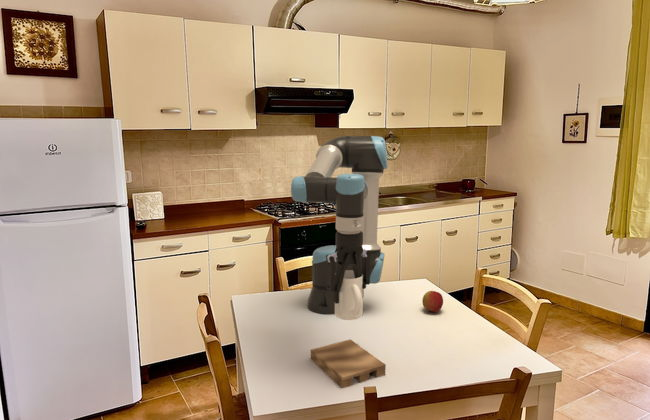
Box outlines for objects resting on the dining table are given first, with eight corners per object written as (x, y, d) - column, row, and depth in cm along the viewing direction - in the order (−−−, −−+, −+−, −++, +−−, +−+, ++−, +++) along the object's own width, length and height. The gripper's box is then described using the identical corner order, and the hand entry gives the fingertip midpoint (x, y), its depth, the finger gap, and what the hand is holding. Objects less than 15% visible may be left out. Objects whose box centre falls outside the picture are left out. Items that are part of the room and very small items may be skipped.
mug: (345, 327, 127) (345, 285, 125) (329, 311, 138) (330, 271, 136) (372, 323, 130) (373, 281, 128) (355, 307, 141) (356, 268, 139)
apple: (447, 312, 176) (448, 292, 175) (432, 317, 171) (433, 296, 170) (432, 306, 182) (433, 286, 181) (417, 310, 178) (418, 290, 176)
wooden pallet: (310, 358, 140) (310, 349, 140) (350, 348, 147) (350, 339, 147) (342, 388, 125) (342, 377, 124) (385, 374, 132) (385, 364, 131)
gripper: (326, 237, 121) (326, 322, 125) (385, 230, 130) (382, 309, 134) (312, 231, 128) (312, 313, 132) (369, 225, 137) (367, 301, 141)
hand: (348, 311), depth 133 cm, fingers closed on mug, 6 cm apart
